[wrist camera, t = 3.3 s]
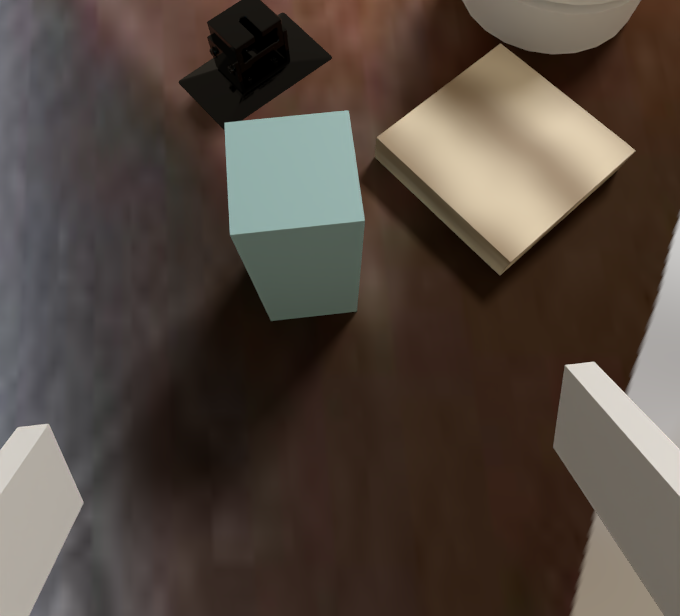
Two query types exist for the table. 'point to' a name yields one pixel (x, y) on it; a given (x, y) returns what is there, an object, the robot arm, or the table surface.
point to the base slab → (500, 156)
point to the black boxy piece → (251, 61)
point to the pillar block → (297, 211)
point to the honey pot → (552, 22)
